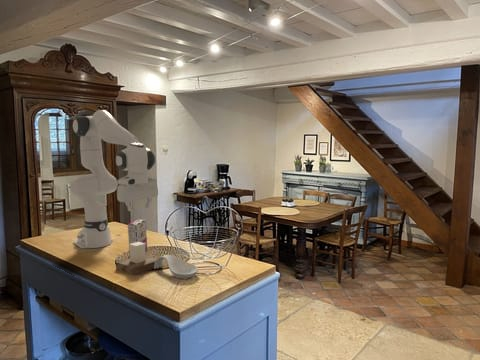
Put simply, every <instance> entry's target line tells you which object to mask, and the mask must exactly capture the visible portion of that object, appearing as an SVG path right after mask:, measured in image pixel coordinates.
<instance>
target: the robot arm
mask: <svg viewBox="0 0 480 360" xmlns="http://www.w3.org/2000/svg"><path fill="white" fill-rule="evenodd" d="M72 130H73V132H74V134H75V135H76V136H78V137H80V139H79V141H80V142H79V149H80V150H79V152H80V161H81V162H80V163H81V165H82V167H84V168H85V169H86V170H89V171H90V172H91V174H92V175H88V176H87V175H86V176H79V177H75V178H73V179H72V180H70V184H69V191H70V193H71V194H72V196H74V197H76V198H77V199H79V201H80V202H81V203H82V205H83V207H84V215H85V217H84V218H85V219H84V221H83V227H82V228H81V229H80V231H78V233H77V235H76V237H77V238H76V240H73V244H74V245H75V246H77V247H79V248H80V249H97V248H103V247H107V246H110V245H111V244H112V242H113V241H114V240H113V238H112V237H111V230H110V227H109V224H108V223H109V221H108V220H109V219H108V217H107V216H108V215H107V205H106V204H105V203H103V202H101V201H99V200H98V199H97V196H103V195H107V194H111V193H113V192H116V198H117V199H116V200H117V201H118V202H119V203H124V204H125V205H126V207H127V211H128V212H132V211H133V210H134V209H133V207H134V206H131V202H134V201H139V200H144V199H146V200H147V201H146V203H144V208H146V209H148V208H150V207H151V202H153V201H152V199H153V198H156V197H158V195H159V188H158V181H157V180H158V179H156V178H155V177H153V176H152V177H149V170H151V169H152V168H153V167H154V166H155V164H156V156H155V153H154V152H153V151H152V150H151V149H150V148H148V147H147V146H146V144H144V143H142V142H141V141H140V140H139V138H137V136H135V134H134V133H133V132H131V131H129V130H127V129H126V128H125V127H123V126H122V125H121V124H120V123H119V122H118V121H117V120H116V118H115V117H114V116H113V115H112V114H111V113H110V112H108V111H107V110H104V109H101V110H100V109H99V110H96V111H95V112H94V113H93V114H92V115H86V116H85V115H78V116H75V118H74V119H73V121H72ZM101 140H102V141H104V142H106V143H108V144H112V145H122V146H125V147H126V148H125V149H122V150H119V151H118V152H116V155H115V157H114V159H115V162H114V163H115V166H116V167H117V168H118V169H119V171H127V174H126V175H125V176H123V177H121V178H119V179H117V178H116V177H115V176H114V175H113V174H111V173H110V172H109V171H108V169H107V168H106V166H105V163H104V158H103V148H102V141H101Z"/></svg>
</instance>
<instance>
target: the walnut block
mask: <svg viewBox="0 0 480 360" xmlns="http://www.w3.org/2000/svg"><path fill="white" fill-rule="evenodd" d="M157 258H158V257H157ZM157 258H156V257H153V256H150V255H149V256H148V255H146V261H142V262H139V263H134V262H131V261H130V257H127V258H123V259H121V260H118V261H115V270H116V271H120V272H123V273H126V274H129V275H133V276H135V277H137V276H140V275H143V274H145V273H148V272H150V271H152V269H153V268H154V263H155V261H156V259H157ZM153 270H154V269H153Z"/></svg>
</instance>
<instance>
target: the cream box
mask: <svg viewBox="0 0 480 360" xmlns="http://www.w3.org/2000/svg"><path fill="white" fill-rule="evenodd" d="M129 248H130V255H129V258H130V261H131V262H134V263H139V262H142V261H146V256H147V255H146V251H147V250H145V243H142V242H135V243H132V244H129V243H128V249H129Z"/></svg>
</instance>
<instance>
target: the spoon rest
mask: <svg viewBox="0 0 480 360" xmlns="http://www.w3.org/2000/svg"><path fill="white" fill-rule="evenodd" d="M163 259H164V260H165V261H166V262H167V266H168V269H169V271H170V272H171V274H172V276H173V277H175V278H176V279H180V280H187V279H191V278H192V277H194V276H196V275H197V274H198V272H199V268H198V266H196V265H195V264H193V263H190V262H188V261H185V260H182V259H180V258H178V257H176V256H174V255H170V254H165V255H164V254H163V255H161V256H159V257H157V259H156V261H155V263H154V269H153V270H157V269H159V267H160V268H162V267H163ZM156 268H157V269H156Z"/></svg>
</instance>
